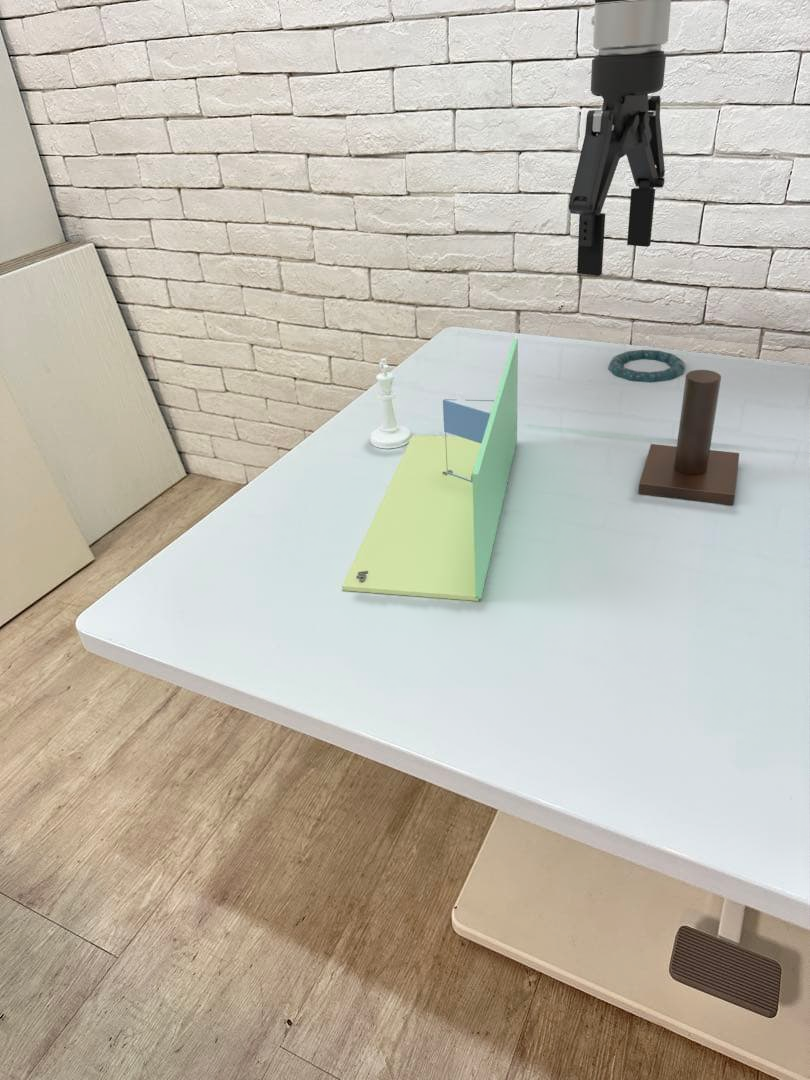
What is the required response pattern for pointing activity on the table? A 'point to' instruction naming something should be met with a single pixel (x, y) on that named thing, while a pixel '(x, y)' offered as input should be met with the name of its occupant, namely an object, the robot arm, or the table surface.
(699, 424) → the stand
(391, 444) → the chess piece
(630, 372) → the ring
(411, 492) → the display stand
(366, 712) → the table surface
